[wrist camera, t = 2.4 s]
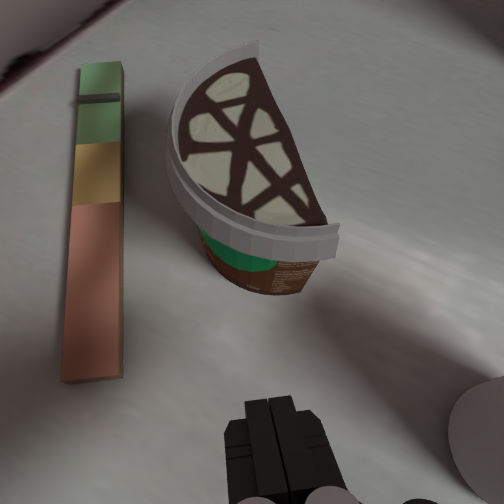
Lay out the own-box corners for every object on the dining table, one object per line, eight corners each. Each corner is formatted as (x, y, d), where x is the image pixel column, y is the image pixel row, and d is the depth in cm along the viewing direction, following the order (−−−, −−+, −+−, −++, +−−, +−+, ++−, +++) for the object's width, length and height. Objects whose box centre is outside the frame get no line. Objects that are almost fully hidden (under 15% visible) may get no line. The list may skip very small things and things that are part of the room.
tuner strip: (124, 72, 35) (119, 56, 33) (122, 377, 24) (116, 372, 23) (85, 75, 34) (79, 59, 33) (67, 384, 24) (57, 379, 22)
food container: (166, 175, 30) (136, 53, 21) (250, 157, 31) (255, 32, 22) (209, 342, 25) (193, 274, 16) (308, 314, 26) (345, 235, 17)
